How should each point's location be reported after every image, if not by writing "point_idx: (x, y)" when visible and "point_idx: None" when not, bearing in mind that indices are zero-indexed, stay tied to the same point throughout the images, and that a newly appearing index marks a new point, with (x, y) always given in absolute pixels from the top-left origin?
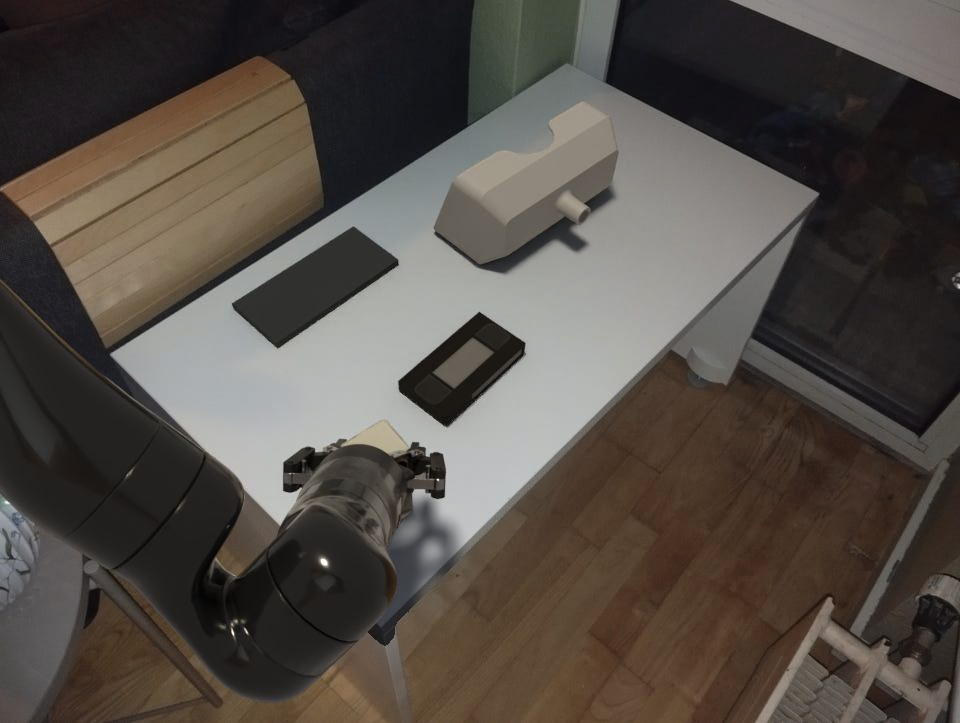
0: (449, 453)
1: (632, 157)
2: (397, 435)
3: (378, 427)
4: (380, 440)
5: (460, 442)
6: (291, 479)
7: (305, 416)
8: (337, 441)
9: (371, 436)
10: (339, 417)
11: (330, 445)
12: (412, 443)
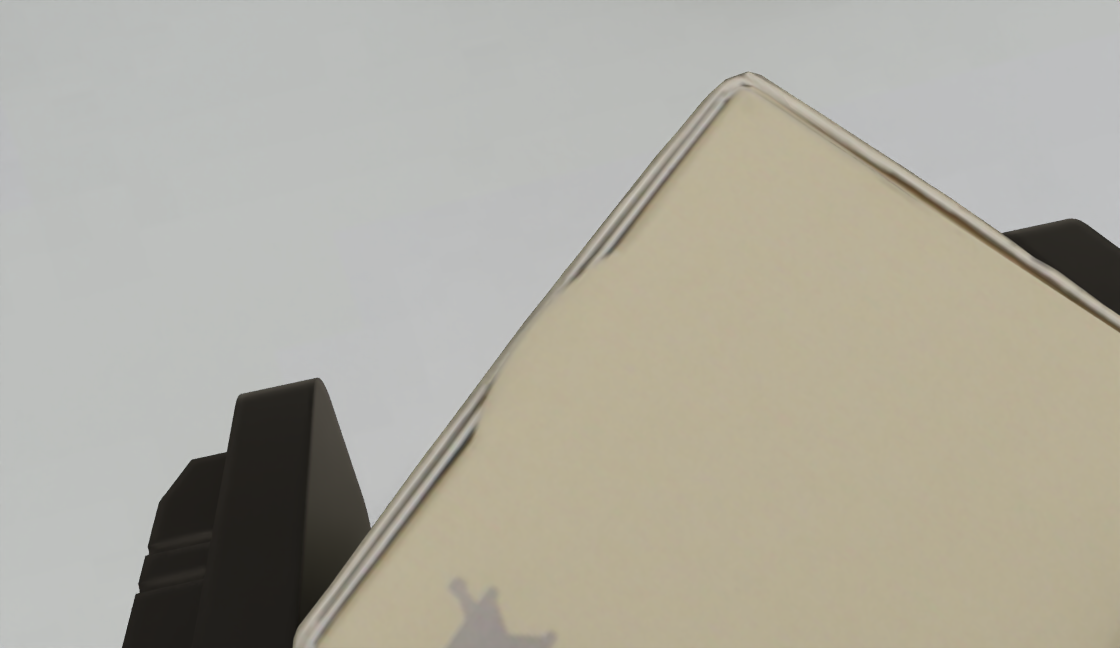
0: (867, 131)
1: None
2: (1022, 273)
3: (724, 222)
4: (835, 419)
5: (901, 54)
6: None
7: (13, 112)
8: (227, 480)
9: (687, 391)
10: (204, 72)
11: (161, 540)
12: (1058, 266)
